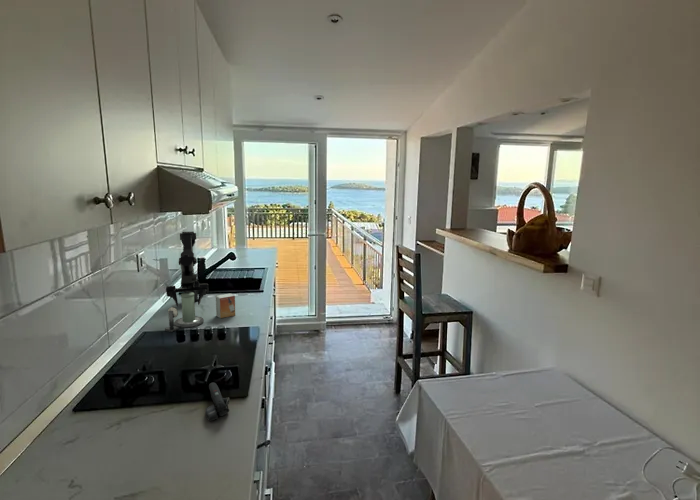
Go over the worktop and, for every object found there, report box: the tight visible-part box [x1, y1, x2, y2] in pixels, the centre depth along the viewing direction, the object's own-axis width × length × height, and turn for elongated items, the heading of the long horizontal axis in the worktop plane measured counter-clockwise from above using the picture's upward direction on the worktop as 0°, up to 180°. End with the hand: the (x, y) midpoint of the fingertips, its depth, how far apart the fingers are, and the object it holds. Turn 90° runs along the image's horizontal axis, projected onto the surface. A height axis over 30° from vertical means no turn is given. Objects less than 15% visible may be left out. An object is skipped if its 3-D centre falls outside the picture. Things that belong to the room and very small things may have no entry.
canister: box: [180, 292, 196, 322], centre depth 181 cm, size 6×6×13 cm
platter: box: [174, 315, 205, 329], centre depth 182 cm, size 13×13×1 cm
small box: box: [215, 292, 236, 319], centre depth 192 cm, size 8×6×10 cm
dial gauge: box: [164, 306, 180, 333], centre depth 172 cm, size 4×5×10 cm
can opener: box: [204, 382, 231, 421], centre depth 116 cm, size 18×7×6 cm, turn 25°
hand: (188, 305), depth 179 cm, fingers open, 9 cm apart
